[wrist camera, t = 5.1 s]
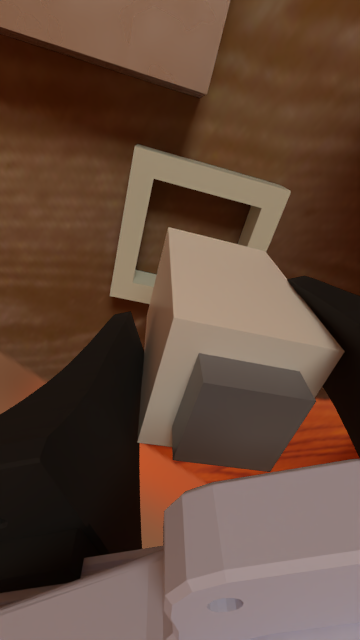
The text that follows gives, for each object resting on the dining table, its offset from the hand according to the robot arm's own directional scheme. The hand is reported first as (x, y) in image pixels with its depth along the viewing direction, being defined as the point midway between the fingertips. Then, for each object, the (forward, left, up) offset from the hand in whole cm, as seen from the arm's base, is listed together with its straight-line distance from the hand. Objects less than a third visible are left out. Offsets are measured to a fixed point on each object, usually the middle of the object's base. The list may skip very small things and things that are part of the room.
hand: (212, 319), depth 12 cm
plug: (0, 0, -3) cm, 3 cm away
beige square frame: (0, 0, -10) cm, 10 cm away
